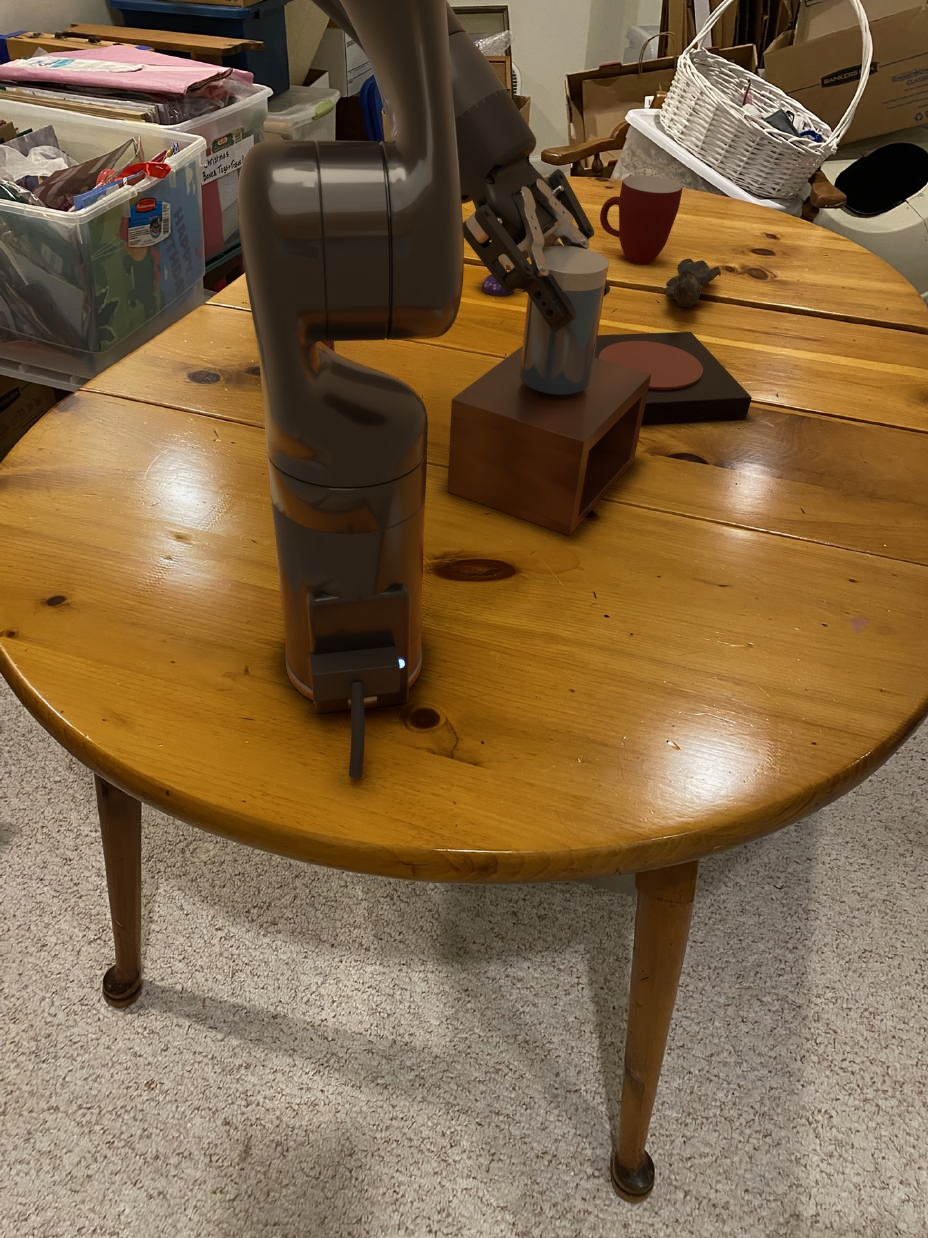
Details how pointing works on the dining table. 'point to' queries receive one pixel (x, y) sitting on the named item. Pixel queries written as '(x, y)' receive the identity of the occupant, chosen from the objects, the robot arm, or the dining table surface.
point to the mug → (644, 215)
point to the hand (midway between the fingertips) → (583, 310)
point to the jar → (569, 351)
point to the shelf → (544, 442)
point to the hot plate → (677, 377)
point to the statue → (690, 281)
